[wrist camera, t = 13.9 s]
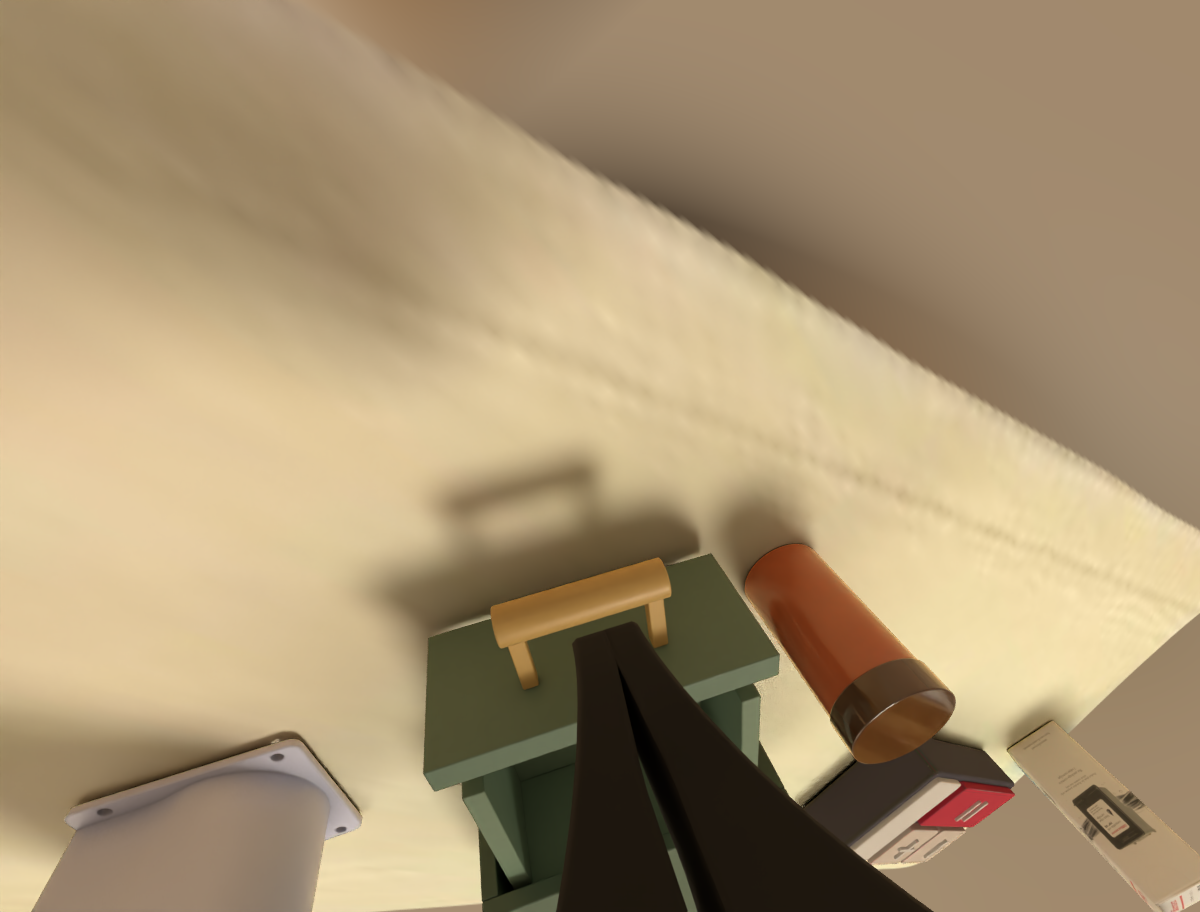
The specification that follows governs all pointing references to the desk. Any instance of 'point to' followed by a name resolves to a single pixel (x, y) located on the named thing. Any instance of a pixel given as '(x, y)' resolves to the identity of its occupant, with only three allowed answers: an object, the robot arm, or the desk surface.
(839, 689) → the spice jar
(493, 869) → the cabinet
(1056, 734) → the ink box
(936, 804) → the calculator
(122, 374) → the desk surface
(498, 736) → the drawer
